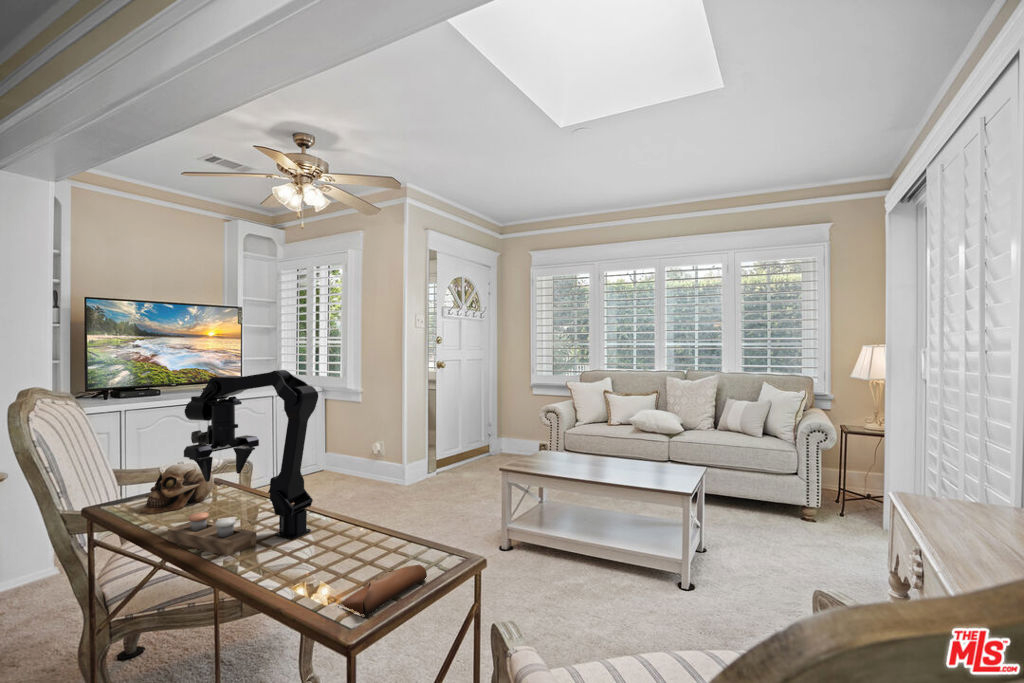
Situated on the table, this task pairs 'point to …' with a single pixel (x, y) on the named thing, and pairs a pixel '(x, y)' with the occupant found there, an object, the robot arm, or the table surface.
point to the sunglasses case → (384, 589)
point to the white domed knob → (225, 527)
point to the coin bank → (177, 489)
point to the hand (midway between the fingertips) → (223, 477)
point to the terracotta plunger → (198, 521)
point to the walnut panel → (212, 539)
